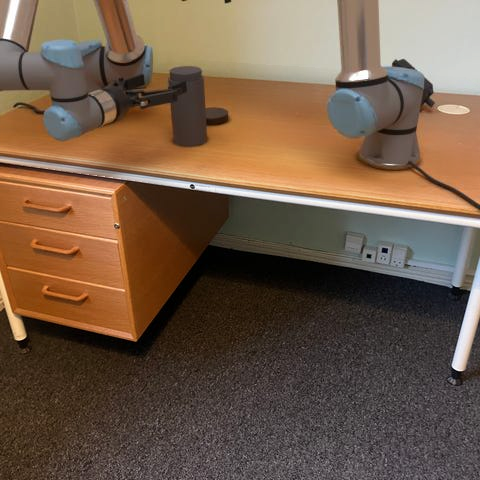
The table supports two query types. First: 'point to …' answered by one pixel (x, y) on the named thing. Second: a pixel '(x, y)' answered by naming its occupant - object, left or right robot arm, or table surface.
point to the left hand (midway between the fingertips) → (163, 82)
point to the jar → (189, 107)
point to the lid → (216, 116)
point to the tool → (427, 85)
